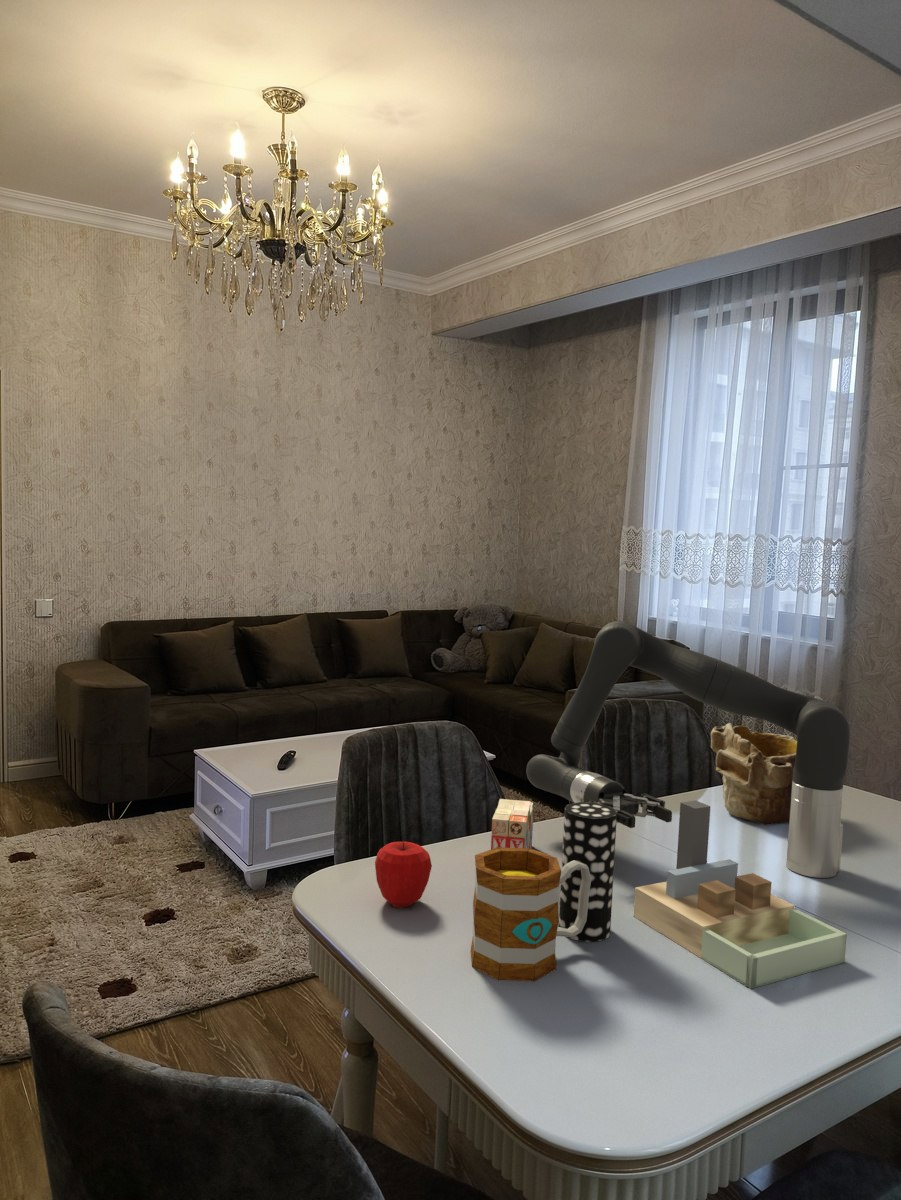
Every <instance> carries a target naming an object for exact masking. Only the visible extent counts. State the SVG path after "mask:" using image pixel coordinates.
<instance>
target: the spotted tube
mask: <svg viewBox="0 0 901 1200" xmlns="http://www.w3.org/2000/svg"><path fill="white" fill-rule="evenodd" d="M616 821H617V811H616V810H615V809H613V808H612V807H609V806H607V805H603V804H598V803H591V802H577V803H573V802H571V803H569V804H566V805H565V807H564V816H563V834H562V835H563V836H562V857H561V869H562V868H563V866H564V865H565V864H567V863H569V862H571V861H573V860H575V861H578V862H580V863H583V864H586V865H587V866H588V868H589V872H590V876H591V885H590V891H589V899H588V912H587V920H586V923H585V925H584V927H583V929H582V932H581V933H579V934H577V935H576V936H574V937H568V939H572V940H575V941H579V942H585V943H586V942H587V943H590V942H591V943H595V942H601V941H604V940H607V938H609V936H611V928H612V927H611V926H612V925H611V924H612V907H613V890H614V889H613V887H614V876H615V875H614V873H615V872H614V870H615V854H616V838H617V837H616V836H617V835H616V833H617V823H616ZM581 880H582V875H581V869H580V868H578V869H576V870H575V871H573V872H572V873H571V874H570V875H569V877H568V878H567V879H566V880H565V881H564V882H563V883H561V884H560V892H559V893H560V894H559V909H558V916H559V922H558V927H561V928H565V929H568V928H569V927H571V926H573V925H574V923H575V920H576V918H577V913H578V900H579V890H580V885H581Z"/></svg>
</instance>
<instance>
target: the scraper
mask: <svg viewBox="0 0 901 1200" xmlns="http://www.w3.org/2000/svg"><path fill="white" fill-rule="evenodd" d="M710 817H711V806H710V805H709V804H705V803H703V802H701V801H698V800H689V801H682V802H680V805H679V820H678V822H679V823H678V834H677V835H678V837H677V851H676V852H677V854H676V869H670V870H667V872H666V881H667V885H666V895H668V896H670V897H672V898H673V899H677V898H681V897H686V896H691V895H696V894H698V887H699V884H702V883H707V882H711V881H716V880H718V881H720V882H722V883H724V884H725V885H727V886H729V887H734V886H735V877H736V876H738V871H739V870H738V869H739V863H738V862H736V861H734V860H732V859H729V858H727V859H724V860H723V859H722V860H717V861H714V862H708V849H709V848H708V847H709V836H710V835H709V834H710V833H709V832H710V822H711V821H710V820H711V819H710ZM707 862H708V863H707Z"/></svg>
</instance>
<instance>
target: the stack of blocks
mask: <svg viewBox="0 0 901 1200" xmlns="http://www.w3.org/2000/svg"><path fill="white" fill-rule="evenodd" d="M497 804H498V805H497V808H495V810H494V811H495V812H494V814H493V816H492V820H491V835H490V837H491V839H490V850H491V849H494V848H497V847H502V848H530V849H532V848H533V847H532V846H533V829H534V828H533V827H534V817H533V816H534V802H531V801H529V800H520V799H519V800H517V799H516V800H515V799H506V798H505V799H504V798H499V800H498V803H497Z"/></svg>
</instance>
